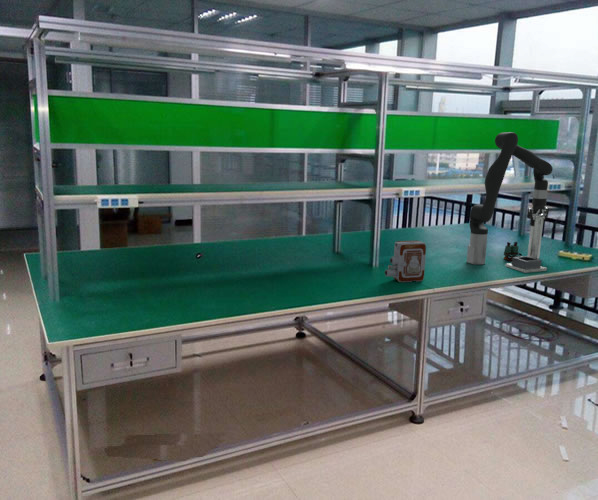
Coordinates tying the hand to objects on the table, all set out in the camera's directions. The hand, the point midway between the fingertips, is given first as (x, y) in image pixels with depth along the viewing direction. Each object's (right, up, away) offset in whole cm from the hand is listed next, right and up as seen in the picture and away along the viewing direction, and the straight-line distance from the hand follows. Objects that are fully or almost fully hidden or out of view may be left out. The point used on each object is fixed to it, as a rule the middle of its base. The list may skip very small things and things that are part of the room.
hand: (536, 225), depth 326 cm
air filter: (0, -19, +4) cm, 20 cm away
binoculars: (-15, -21, -2) cm, 26 cm away
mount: (-15, -25, -21) cm, 36 cm away
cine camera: (-88, -30, -49) cm, 105 cm away
